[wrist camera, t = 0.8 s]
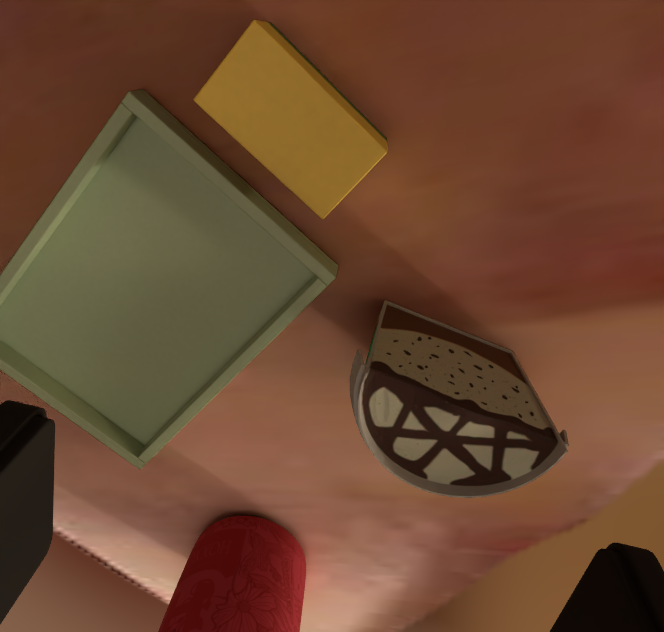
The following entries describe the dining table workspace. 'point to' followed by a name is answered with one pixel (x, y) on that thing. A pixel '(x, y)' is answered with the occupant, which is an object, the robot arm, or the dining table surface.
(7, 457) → the robot arm
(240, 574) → the wine bottle
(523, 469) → the food container
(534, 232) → the dining table surface
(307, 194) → the sponge
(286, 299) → the tray
